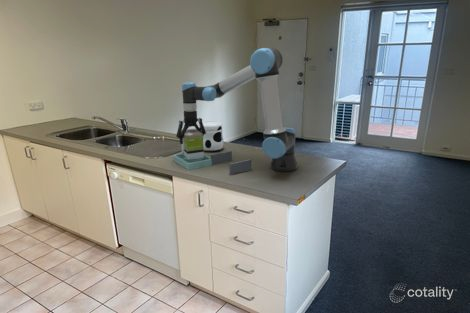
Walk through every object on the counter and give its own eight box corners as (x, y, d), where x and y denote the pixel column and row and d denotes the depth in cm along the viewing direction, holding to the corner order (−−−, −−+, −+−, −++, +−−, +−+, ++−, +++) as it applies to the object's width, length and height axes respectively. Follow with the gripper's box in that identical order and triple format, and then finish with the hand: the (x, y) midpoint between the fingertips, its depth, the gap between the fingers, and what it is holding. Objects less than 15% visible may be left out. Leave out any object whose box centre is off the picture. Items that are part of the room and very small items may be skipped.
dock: (251, 169, 180) (251, 159, 178) (230, 175, 172) (230, 164, 171) (230, 160, 197) (230, 150, 195) (210, 164, 189) (210, 154, 187)
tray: (213, 164, 189) (213, 158, 188) (188, 170, 180) (188, 164, 179) (196, 156, 206) (196, 150, 204) (173, 160, 197) (173, 155, 196)
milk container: (193, 149, 221) (192, 123, 216) (214, 144, 231) (214, 120, 226) (207, 154, 208) (206, 127, 202) (229, 150, 218) (228, 124, 212)
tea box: (181, 153, 196) (179, 129, 192) (196, 151, 200) (195, 127, 196) (187, 160, 183) (186, 134, 179) (204, 157, 187) (203, 133, 182)
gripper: (204, 107, 193) (206, 143, 199) (168, 111, 180) (171, 149, 187) (211, 109, 187) (212, 145, 193) (173, 113, 174) (176, 152, 181)
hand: (192, 147), depth 190 cm, fingers closed on tea box, 11 cm apart
